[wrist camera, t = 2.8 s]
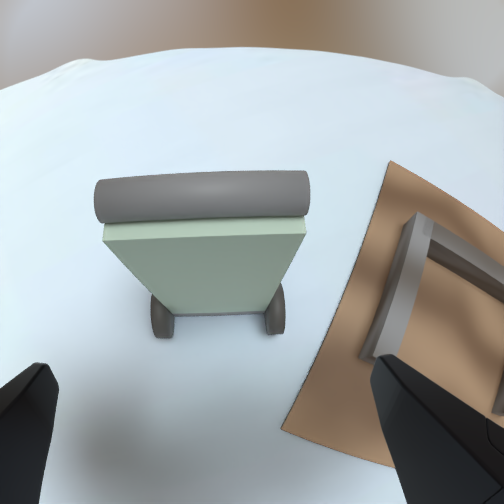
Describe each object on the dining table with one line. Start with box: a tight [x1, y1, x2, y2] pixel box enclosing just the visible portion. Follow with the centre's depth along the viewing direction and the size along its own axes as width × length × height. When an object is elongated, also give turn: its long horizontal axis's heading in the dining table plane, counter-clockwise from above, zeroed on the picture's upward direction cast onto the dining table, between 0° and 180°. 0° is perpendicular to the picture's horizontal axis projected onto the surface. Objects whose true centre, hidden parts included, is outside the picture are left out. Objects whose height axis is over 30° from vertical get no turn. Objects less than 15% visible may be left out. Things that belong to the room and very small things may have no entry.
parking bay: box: [281, 160, 504, 468], centre depth 19 cm, size 22×20×3 cm
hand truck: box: [94, 171, 310, 338], centre depth 14 cm, size 6×7×13 cm
